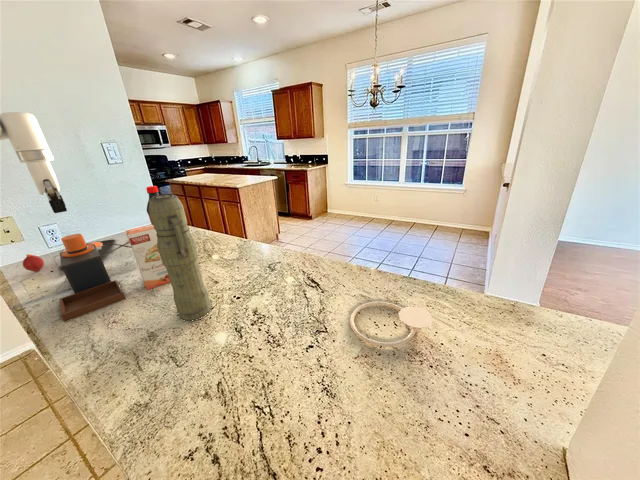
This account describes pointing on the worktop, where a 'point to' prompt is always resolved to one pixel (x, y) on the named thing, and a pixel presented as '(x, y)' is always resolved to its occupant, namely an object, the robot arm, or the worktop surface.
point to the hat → (75, 245)
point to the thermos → (179, 256)
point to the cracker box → (148, 256)
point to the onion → (33, 263)
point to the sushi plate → (105, 247)
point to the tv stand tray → (90, 300)
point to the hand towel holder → (408, 315)
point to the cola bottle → (152, 192)
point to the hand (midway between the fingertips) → (60, 209)
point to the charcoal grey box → (85, 270)
